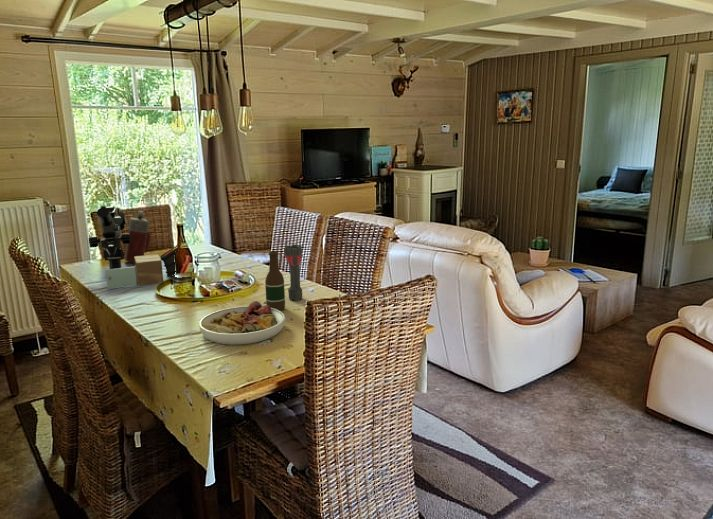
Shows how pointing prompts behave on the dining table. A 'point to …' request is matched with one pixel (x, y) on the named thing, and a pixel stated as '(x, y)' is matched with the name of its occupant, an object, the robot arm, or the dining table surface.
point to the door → (121, 277)
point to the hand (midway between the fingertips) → (112, 254)
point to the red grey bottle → (137, 237)
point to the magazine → (169, 261)
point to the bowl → (242, 324)
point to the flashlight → (294, 270)
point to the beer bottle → (275, 284)
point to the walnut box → (149, 269)
